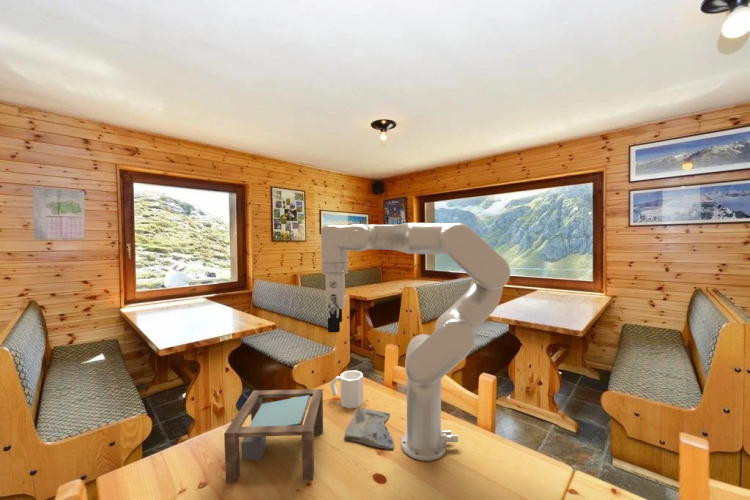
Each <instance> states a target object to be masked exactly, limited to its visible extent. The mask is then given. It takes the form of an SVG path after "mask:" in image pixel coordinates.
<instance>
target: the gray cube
mask: <svg viewBox="0 0 750 500" xmlns="http://www.w3.org/2000/svg"><path fill="white" fill-rule="evenodd" d="M240 444H241V461H254V460H255V461H257V460H262V458H263V455H264V453H265V452H266V448H267V436H259V437H243V439H242V441H241V443H240Z"/></svg>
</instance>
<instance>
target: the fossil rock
mask: <svg viewBox="0 0 750 500" xmlns="http://www.w3.org/2000/svg"><path fill="white" fill-rule="evenodd" d="M354 410H355V411H354V413H353V416H352V418H351V419H350V421H349V425H348V426H347V427H346V429H345V432H344V440H349V441H351V442H355V443H360V444H364V445H366V446H369V447H374V448H380V449H386V450H393V448H394V447H395V443H394V441H393V438H392V436H391V434H390V431H389V429H388V428H387V426H386V425H385V423H386V422H387V421H388V420H389V418H390V417H391V413H389V412H386V411H380V410H374V409H370V408H369V409H368V408H364V407H361V406H360V407H358V408H357V409H356V408H355V409H354Z"/></svg>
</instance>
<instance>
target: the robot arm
mask: <svg viewBox="0 0 750 500" xmlns="http://www.w3.org/2000/svg"><path fill="white" fill-rule="evenodd" d="M320 234H321V235H320V244H321V245H320V249H321V250H320V251H321V252H320V253H321V255H320V258H321V274H322V275H325V305H326V306H325V307H326V309H327V310H328V313H327V315H328V316H327V332H328V333H339V332H341V326H340V325H341V323H342V322H343V310H344V309H345V307H346V278H345V277H346V276H345V275H346V274H349V260H348V259H349V253H348V252H349V251H352V252H364V251H366V250H388V251H389V250H390V251H397V252H401V253H403V254H404V253H405V254H411V255H412V254H413V255H416V254H417V255H447V256H449V258H451V259H452V261H454V262H455V263H456V264H457V266H458V267H460V268H461V269H462V270H463V271H464V272H465V273H466V274H467V275H469V277H471V282H470V286H469V288H468V289H467V290H466V291H465V292H464V294H463V295H461V296H460V298H458V300H457V301H456V302H454V303H453V304H452V305H451V306H450V307H449V308H448V309H447V310H445V311H444V312H443V313H442V314H441V315H440V316H439V317H438V318H437V319H436V321H435V325H434V330H435V331H433V332H432V334H423V333H422V334H418V335H417V334H416V336H414V337H413V338H411V340H410V342H409V343H408V345H407V348H406V353H405V363H404V369H405V373H406V432H405V433H404V434H403V436H402V437H401V439H400V440H401V443H400V445H401V448H402V450H403V451H404V453H405V454H406V455H407V456H409V457H411V458H412V459H415V460H418V461H423V462H425V461H426V462H428V461H429V462H430V461H435V460H437V459H441V458H442V457H443V456H444V455H445V453H446V451H447V443H458V442H459V436H458V434H455V433H454V434H452V431H451V429H448V430H447V429H445V430H443V429H442V427H441V426H442V378H443V377H445V376H446V375H448V373H449V372H451V371H452V370H453V369H454V368H455V367H457V365H458V364H460V363H461V362H462V361H463V360H464V359H465V358H466V357H467V356H468V355H469V354H470V353H471V351H472V349H473V347H474V345H475V341H476V340H475V338H476V337H475V336H476V335H475V331H476V330H477V329H478V328H479V326H481V325H482V324H483V323H484V322H485V321H486V320H487V319H488V317H489V316H490V315H492V314H493V313H494V311H495V310H496V309H497V307H498V305H499V304H500V301H501V298H502V296H503V295H502V294H503V292H504V291H503V289H504V286H506V285H507V284H508V282H509V280H510V277H511V269H510V265H509V264H508V262H507V261H506V260H505V259H504V258H503V257H502V256H501V255H500V254H499V253H498V252H497V251H495V249H493V247H491V246H490V245H489V244H488V243H487V242H486V241H485V240H484V239H483V238H481V236H480V235H478V233H476V231H474V230H473V229H472V227H470V226H468V225H467V224H465V223H462V222H453V223H452V222H451V223H450V222H448V223H447V222H444V223H443V222H404V223H401V224H400V223H399V224H364V223H356V224H355V223H354V224H349V225H348V224H347V225H343V224H327V225H323V226H322V227H321V229H320Z"/></svg>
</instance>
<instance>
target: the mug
mask: <svg viewBox="0 0 750 500" xmlns="http://www.w3.org/2000/svg"><path fill="white" fill-rule="evenodd" d="M337 381H340V406H341V407H344V408H346V409H349V410H350V409H356V408H357V409H358V408H360V407H361V406H362V405H363V404H364V374H363V372H362V371H359V370H356V369H354V370H352V369H351V370H345V371H343V372H342V373H340V376H339V375H337V376H335V378H334V379H333V380H332V381H331V382H330V384H329V385H330V388H331V391H332V395H333V396H334V397H335V396H337V395H338V393H339V391H338V388H337V386H336V382H337ZM361 404H362V405H361Z"/></svg>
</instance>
